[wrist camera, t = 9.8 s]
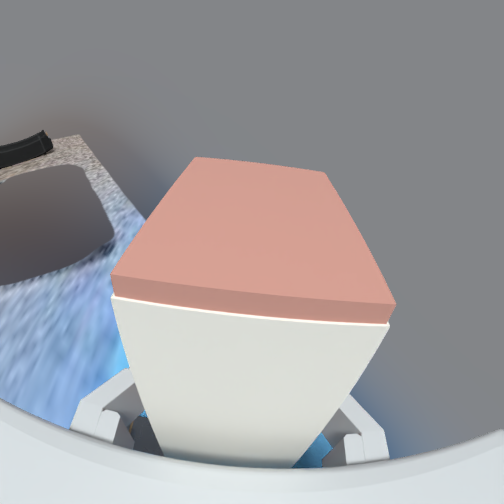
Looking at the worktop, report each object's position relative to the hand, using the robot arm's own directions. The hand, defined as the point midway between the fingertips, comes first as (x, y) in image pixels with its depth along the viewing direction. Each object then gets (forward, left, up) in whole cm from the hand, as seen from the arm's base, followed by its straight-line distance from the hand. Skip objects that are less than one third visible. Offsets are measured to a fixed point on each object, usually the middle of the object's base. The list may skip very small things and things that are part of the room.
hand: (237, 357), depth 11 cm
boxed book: (0, -1, -7) cm, 8 cm away
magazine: (-95, +88, -20) cm, 131 cm away
